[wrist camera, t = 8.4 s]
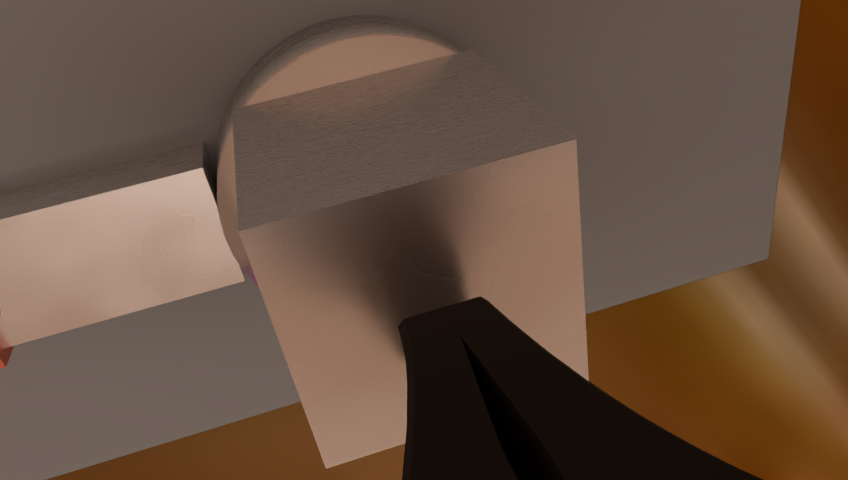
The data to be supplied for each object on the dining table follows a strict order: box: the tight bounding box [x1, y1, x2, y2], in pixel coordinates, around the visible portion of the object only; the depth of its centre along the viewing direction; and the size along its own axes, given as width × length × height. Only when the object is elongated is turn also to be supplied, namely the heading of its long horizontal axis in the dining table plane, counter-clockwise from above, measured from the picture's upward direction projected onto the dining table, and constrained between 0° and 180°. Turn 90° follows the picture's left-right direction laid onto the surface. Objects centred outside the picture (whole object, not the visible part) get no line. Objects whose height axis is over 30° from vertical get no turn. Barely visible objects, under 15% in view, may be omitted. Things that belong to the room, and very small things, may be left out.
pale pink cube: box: [232, 50, 589, 469], centre depth 13 cm, size 5×5×5 cm
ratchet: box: [0, 15, 461, 369], centre depth 14 cm, size 21×7×5 cm, turn 99°
